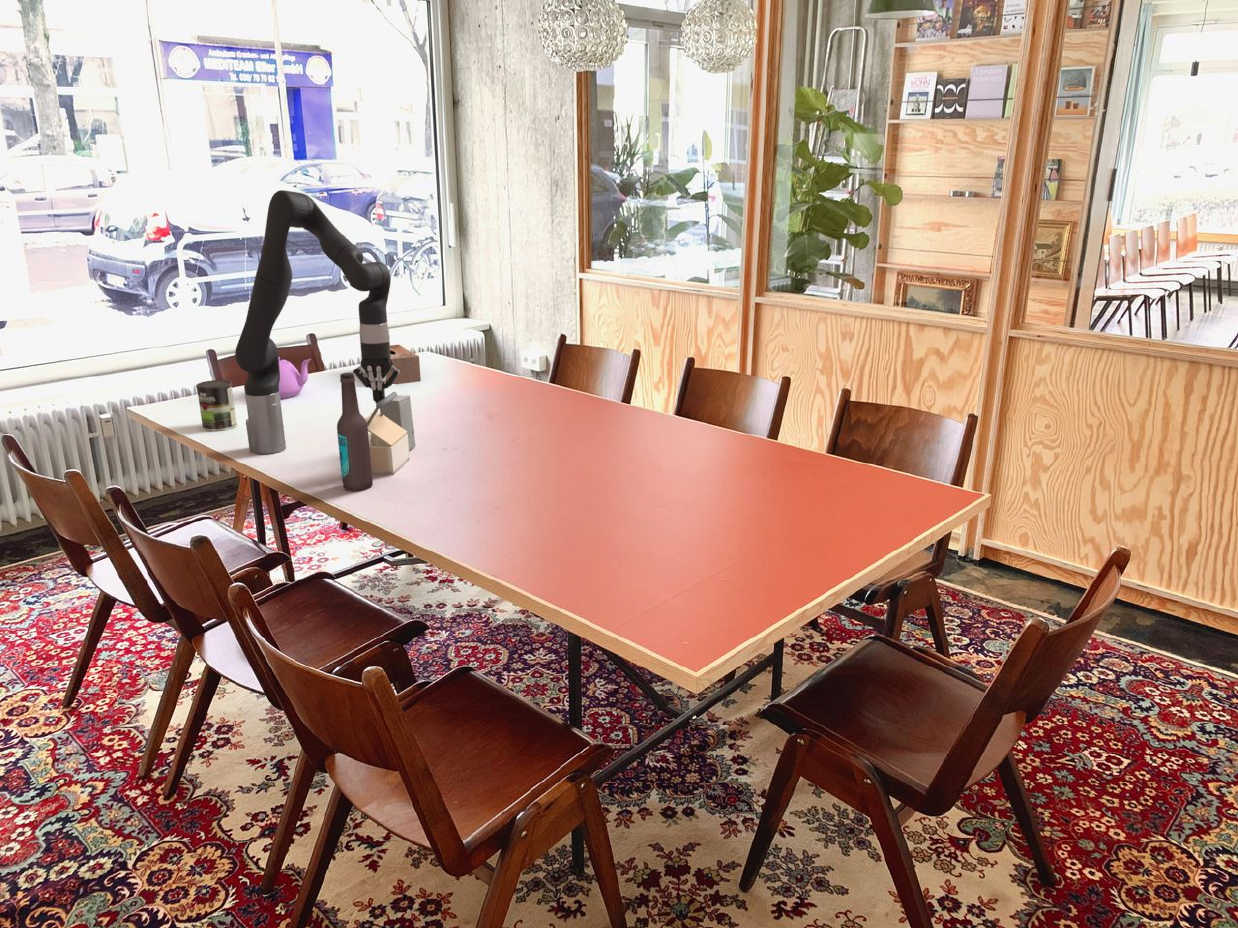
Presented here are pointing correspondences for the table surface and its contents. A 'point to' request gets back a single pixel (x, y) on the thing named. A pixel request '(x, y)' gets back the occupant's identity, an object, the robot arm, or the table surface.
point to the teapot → (291, 378)
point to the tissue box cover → (404, 365)
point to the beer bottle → (353, 440)
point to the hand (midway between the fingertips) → (379, 402)
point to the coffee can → (216, 405)
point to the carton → (388, 455)
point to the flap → (384, 423)
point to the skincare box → (402, 416)
